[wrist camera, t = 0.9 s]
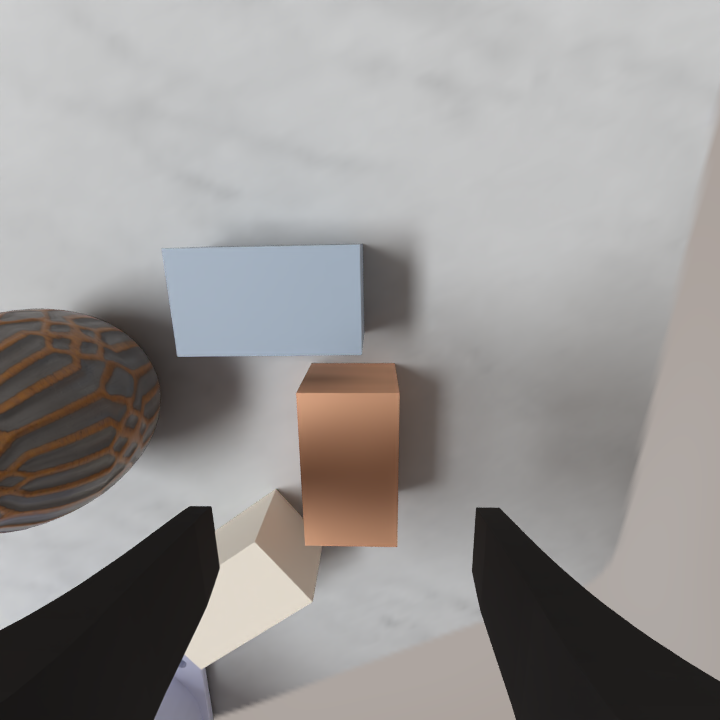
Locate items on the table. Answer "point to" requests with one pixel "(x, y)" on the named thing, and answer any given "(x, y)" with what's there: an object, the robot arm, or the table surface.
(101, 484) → the vase
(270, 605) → the cream brick
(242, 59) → the table surface
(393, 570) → the table surface
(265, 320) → the slate brick
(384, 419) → the terracotta brick
